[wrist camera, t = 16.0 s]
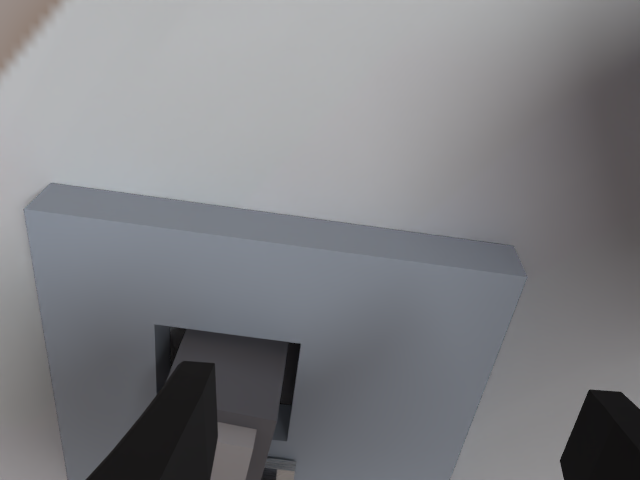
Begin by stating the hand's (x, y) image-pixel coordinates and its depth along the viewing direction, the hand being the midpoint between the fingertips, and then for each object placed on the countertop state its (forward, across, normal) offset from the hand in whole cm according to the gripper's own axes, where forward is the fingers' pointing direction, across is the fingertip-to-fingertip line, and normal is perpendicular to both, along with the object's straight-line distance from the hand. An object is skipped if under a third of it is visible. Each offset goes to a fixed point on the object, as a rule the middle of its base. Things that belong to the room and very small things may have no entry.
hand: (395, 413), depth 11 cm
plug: (+11, +5, +8) cm, 14 cm away
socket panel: (+11, +4, +9) cm, 15 cm away
